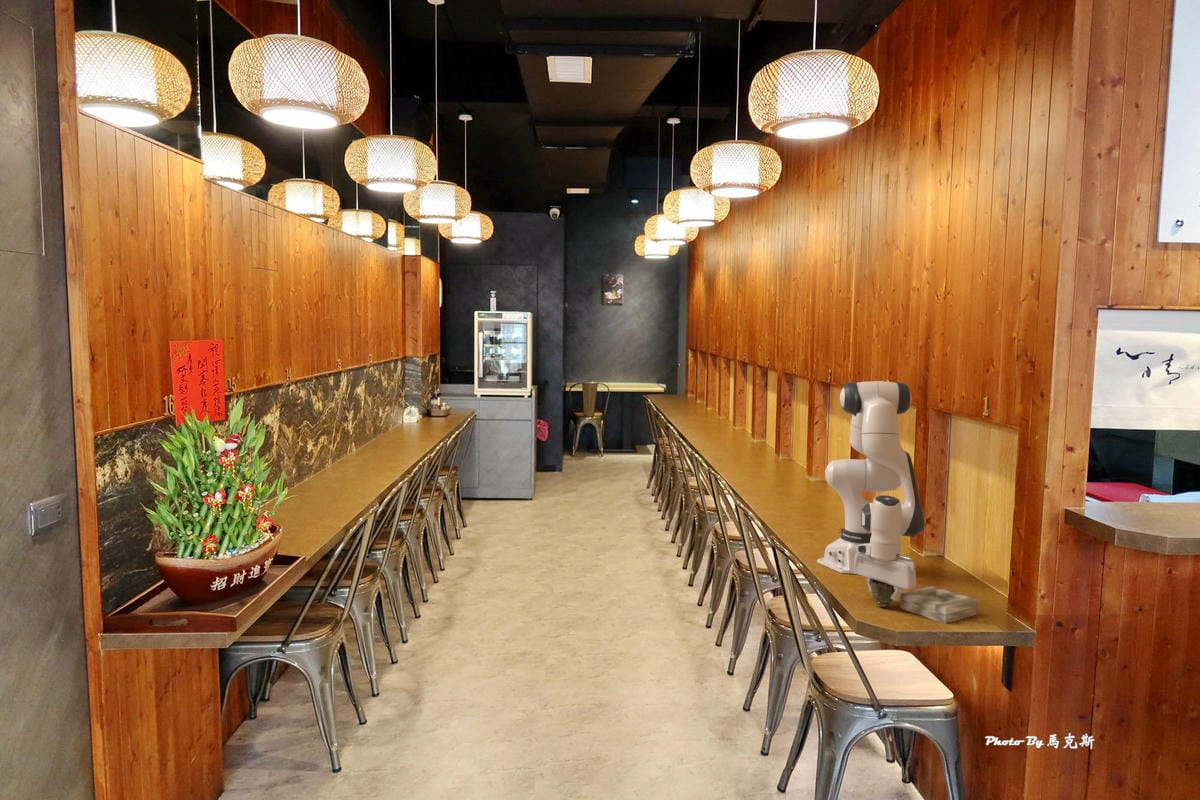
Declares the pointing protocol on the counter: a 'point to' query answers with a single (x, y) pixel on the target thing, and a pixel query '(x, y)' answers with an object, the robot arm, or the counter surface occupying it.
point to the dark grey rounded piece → (882, 593)
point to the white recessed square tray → (939, 604)
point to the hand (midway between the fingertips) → (883, 596)
